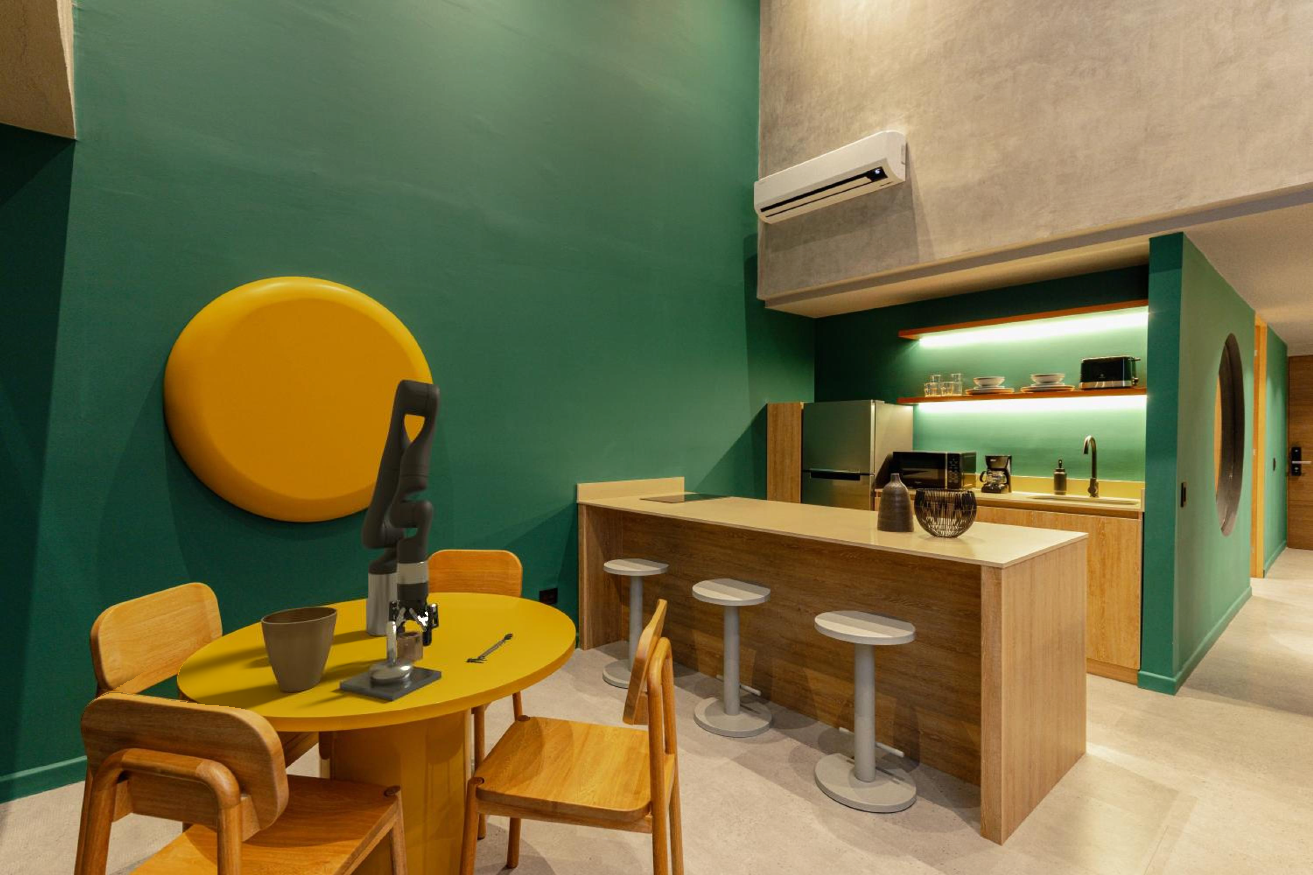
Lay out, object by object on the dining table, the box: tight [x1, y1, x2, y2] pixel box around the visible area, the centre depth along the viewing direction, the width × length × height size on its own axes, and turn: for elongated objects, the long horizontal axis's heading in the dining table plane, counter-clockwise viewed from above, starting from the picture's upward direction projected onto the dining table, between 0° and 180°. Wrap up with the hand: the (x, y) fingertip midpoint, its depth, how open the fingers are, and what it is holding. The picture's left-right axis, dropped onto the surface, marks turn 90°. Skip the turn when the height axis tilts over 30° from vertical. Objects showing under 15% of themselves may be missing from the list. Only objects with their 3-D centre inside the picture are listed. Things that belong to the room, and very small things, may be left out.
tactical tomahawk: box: [467, 632, 514, 664], centre depth 162 cm, size 21×7×1 cm, turn 166°
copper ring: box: [396, 630, 424, 663], centre depth 156 cm, size 6×6×6 cm
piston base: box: [338, 621, 443, 702], centre depth 140 cm, size 16×14×14 cm
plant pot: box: [260, 606, 339, 693], centre depth 139 cm, size 15×15×16 cm
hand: (413, 643), depth 156 cm, fingers open, 8 cm apart
